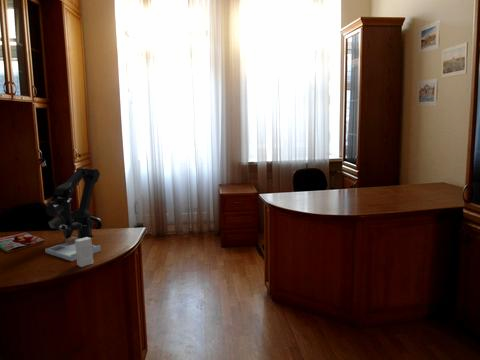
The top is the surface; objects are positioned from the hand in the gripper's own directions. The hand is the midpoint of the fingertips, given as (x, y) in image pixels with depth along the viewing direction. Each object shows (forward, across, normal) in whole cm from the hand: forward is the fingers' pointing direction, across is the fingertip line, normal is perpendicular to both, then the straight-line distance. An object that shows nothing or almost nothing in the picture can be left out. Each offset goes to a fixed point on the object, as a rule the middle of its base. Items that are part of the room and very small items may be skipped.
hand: (67, 240), depth 208 cm
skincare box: (+3, +31, -11) cm, 33 cm away
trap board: (+3, +11, -4) cm, 12 cm away
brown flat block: (+1, +4, 0) cm, 4 cm away
